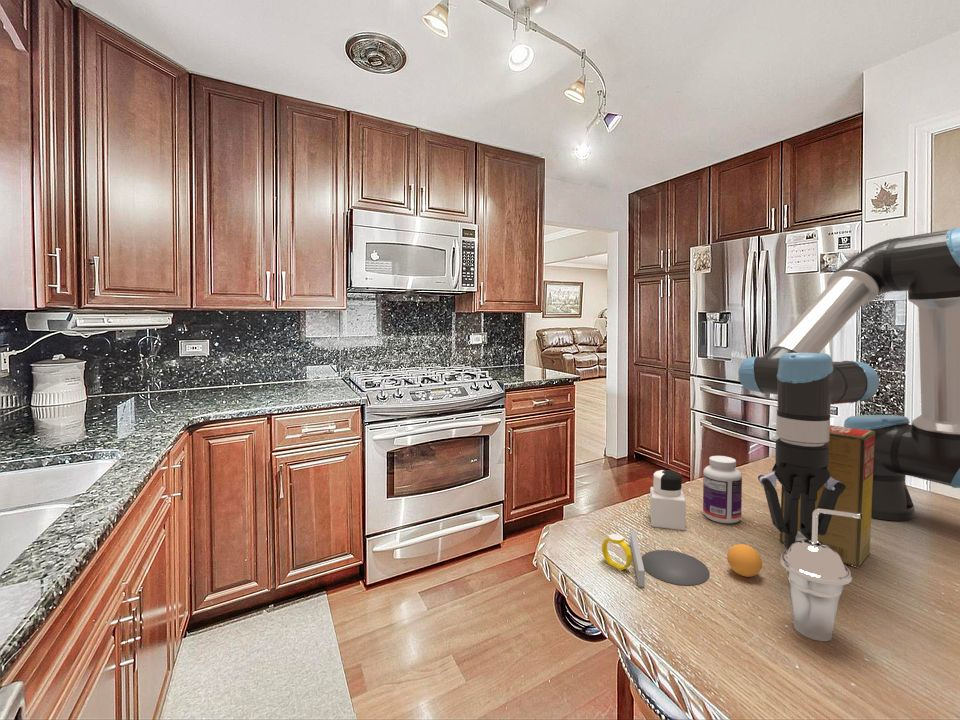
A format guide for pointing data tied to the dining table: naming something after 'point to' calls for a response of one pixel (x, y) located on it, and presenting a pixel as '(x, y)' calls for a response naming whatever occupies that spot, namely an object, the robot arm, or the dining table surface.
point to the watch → (620, 540)
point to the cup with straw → (815, 581)
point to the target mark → (675, 567)
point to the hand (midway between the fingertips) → (797, 569)
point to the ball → (744, 560)
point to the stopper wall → (637, 559)
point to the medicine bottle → (667, 501)
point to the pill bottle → (722, 490)
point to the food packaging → (848, 493)
